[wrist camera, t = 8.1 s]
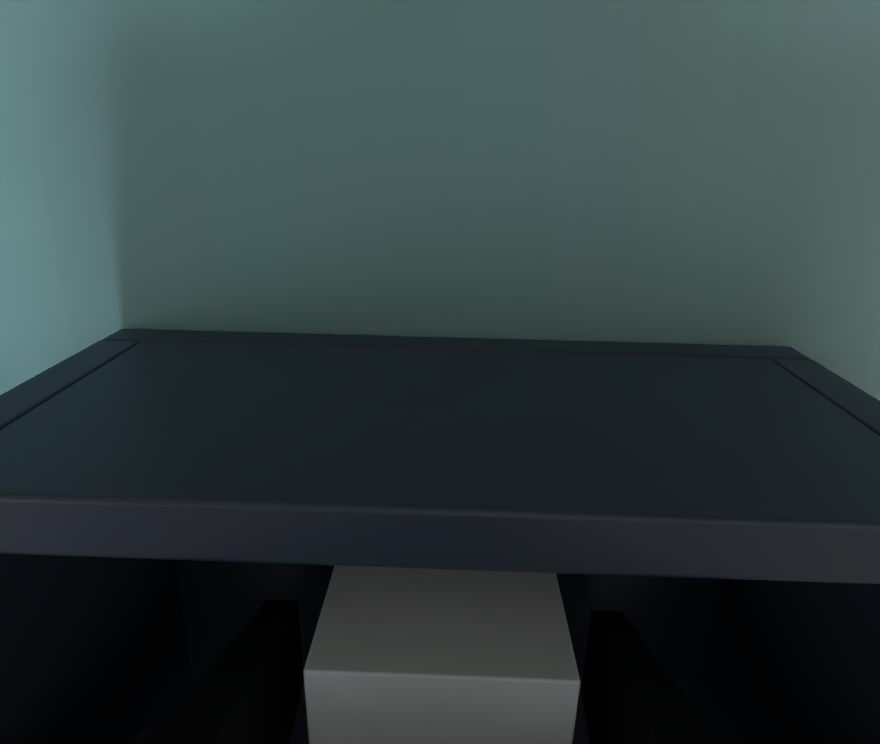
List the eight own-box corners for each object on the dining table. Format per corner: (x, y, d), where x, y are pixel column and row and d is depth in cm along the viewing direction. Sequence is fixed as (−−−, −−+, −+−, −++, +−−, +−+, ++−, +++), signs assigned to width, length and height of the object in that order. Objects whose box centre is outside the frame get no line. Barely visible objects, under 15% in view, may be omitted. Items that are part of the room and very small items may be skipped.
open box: (120, 328, 13) (-178, 489, 7) (792, 346, 12) (1096, 531, 6) (189, 740, 17) (42, 1068, 11) (697, 762, 16) (830, 1109, 10)
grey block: (358, 671, 15) (318, 879, 10) (352, 503, 13) (302, 671, 9) (527, 677, 15) (554, 890, 10) (542, 510, 13) (581, 681, 9)
